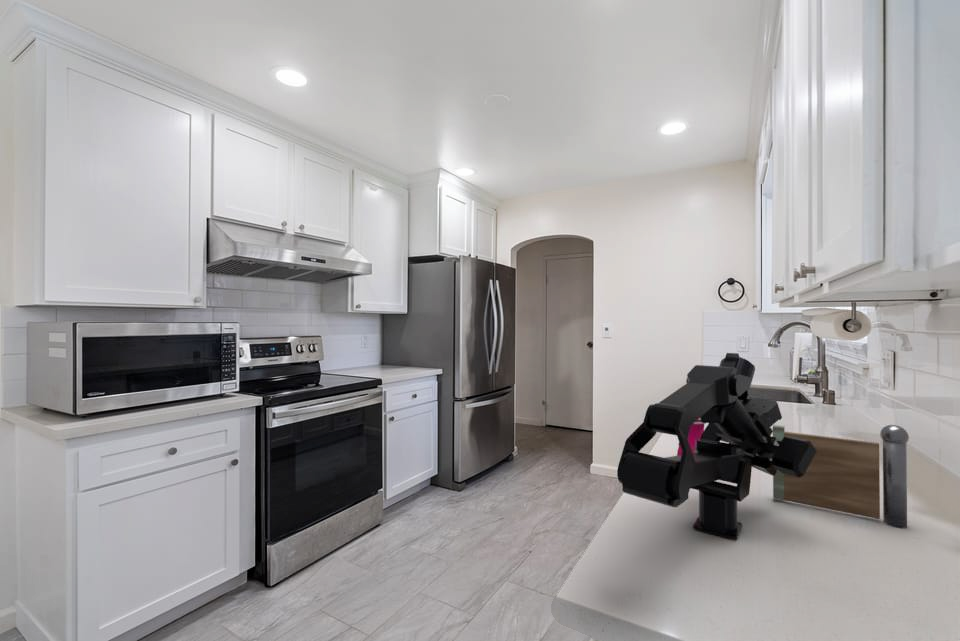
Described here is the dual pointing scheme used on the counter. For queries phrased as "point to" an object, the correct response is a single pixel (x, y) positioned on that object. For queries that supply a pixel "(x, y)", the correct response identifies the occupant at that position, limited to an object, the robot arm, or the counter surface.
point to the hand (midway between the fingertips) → (773, 473)
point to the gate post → (894, 475)
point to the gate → (834, 476)
